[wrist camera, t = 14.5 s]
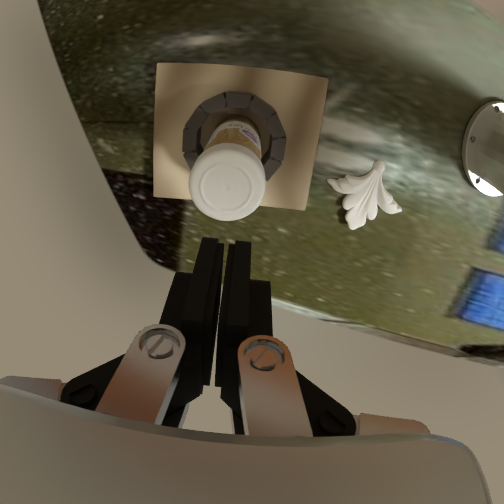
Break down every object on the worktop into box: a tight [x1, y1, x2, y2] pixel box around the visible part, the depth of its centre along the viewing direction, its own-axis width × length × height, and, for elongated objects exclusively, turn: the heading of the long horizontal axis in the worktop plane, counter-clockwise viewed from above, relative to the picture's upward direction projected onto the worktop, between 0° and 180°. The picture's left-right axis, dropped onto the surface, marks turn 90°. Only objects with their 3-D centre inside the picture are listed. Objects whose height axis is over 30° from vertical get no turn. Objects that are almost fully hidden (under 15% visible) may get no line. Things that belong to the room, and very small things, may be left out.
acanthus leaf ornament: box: [327, 161, 402, 230], centre depth 34 cm, size 8×7×2 cm
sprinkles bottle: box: [189, 115, 266, 221], centre depth 24 cm, size 5×5×13 cm
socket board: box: [153, 63, 329, 210], centre depth 29 cm, size 16×14×4 cm
